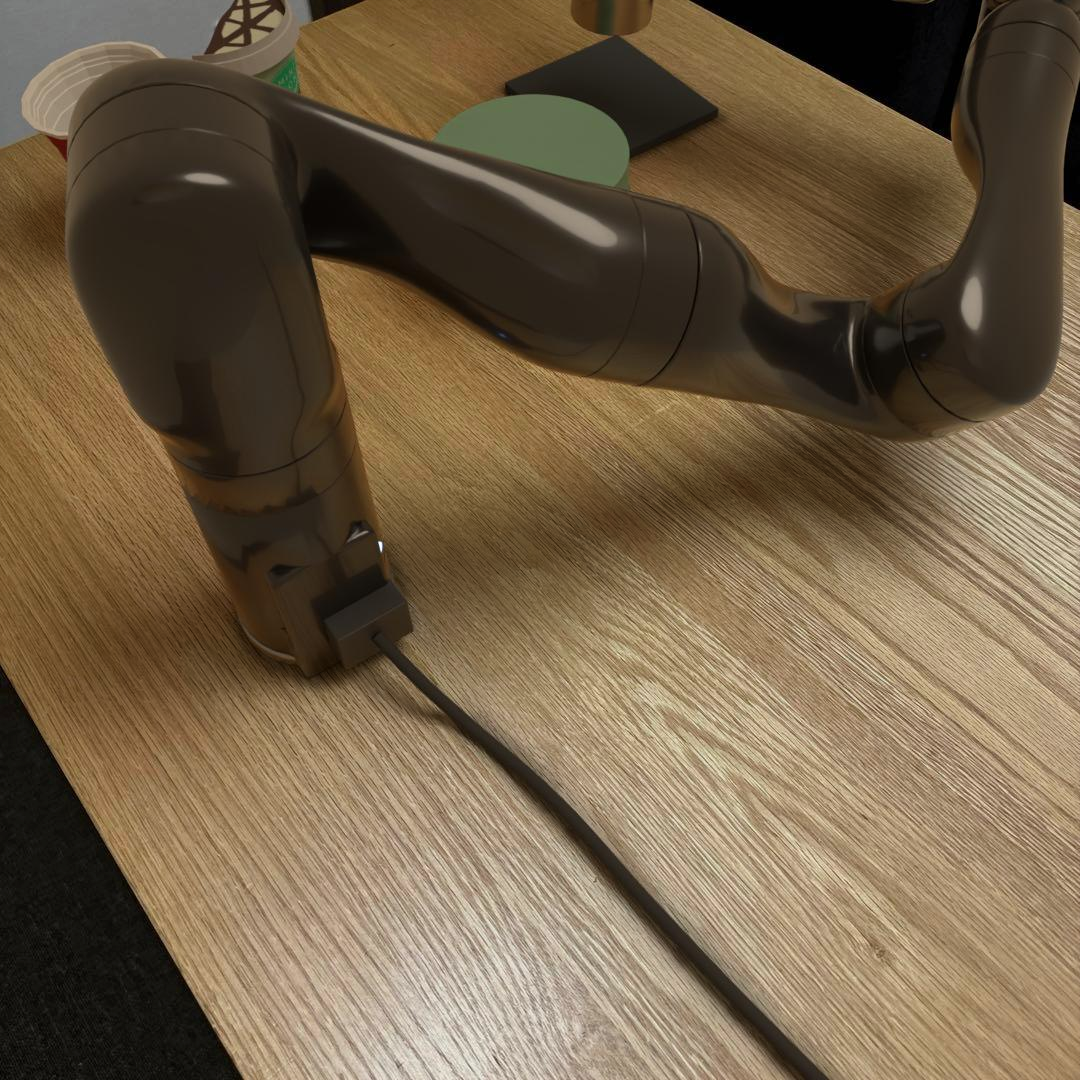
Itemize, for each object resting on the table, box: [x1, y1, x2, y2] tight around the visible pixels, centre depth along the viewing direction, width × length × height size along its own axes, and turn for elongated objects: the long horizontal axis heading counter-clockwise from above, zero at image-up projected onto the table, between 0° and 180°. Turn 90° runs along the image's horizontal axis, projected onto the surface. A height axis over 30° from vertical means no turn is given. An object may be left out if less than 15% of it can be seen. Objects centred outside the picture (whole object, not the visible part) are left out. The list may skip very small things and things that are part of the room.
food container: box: [191, 0, 302, 95], centre depth 96 cm, size 12×6×10 cm, turn 171°
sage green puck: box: [432, 94, 632, 191], centre depth 86 cm, size 15×15×9 cm
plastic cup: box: [20, 40, 167, 163], centre depth 89 cm, size 11×11×12 cm
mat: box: [504, 36, 719, 159], centre depth 100 cm, size 14×12×1 cm
